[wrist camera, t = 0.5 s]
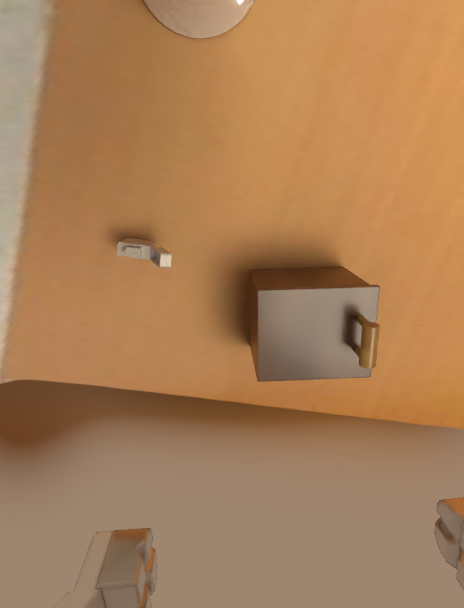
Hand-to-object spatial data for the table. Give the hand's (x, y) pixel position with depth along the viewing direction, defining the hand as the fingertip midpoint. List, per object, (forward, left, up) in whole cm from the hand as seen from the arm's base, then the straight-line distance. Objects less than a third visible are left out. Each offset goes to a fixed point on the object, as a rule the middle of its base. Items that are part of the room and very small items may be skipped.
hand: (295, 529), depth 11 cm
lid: (+8, +9, -34) cm, 36 cm away
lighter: (-1, -11, -44) cm, 45 cm away
